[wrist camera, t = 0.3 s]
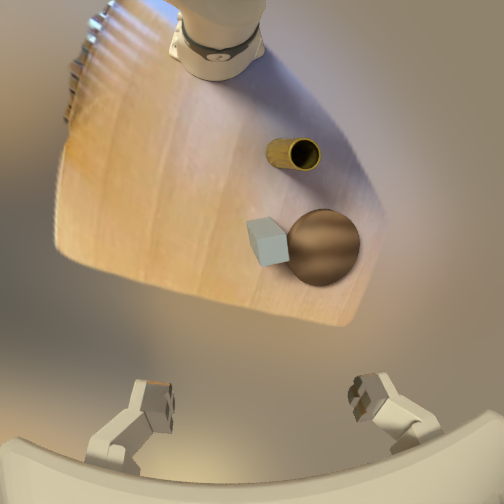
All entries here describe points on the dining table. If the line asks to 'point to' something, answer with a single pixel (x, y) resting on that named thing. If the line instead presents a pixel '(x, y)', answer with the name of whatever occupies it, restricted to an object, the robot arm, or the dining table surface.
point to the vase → (294, 154)
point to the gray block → (268, 241)
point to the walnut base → (322, 247)
